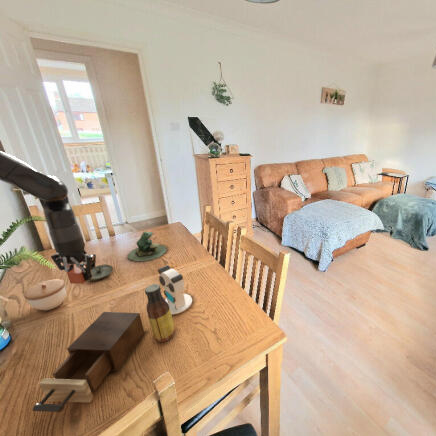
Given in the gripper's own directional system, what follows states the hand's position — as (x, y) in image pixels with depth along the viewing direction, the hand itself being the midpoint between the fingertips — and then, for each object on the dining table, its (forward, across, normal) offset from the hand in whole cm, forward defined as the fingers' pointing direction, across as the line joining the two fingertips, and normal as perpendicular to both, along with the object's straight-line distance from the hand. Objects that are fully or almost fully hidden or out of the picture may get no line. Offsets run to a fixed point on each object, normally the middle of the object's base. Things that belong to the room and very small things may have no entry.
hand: (81, 279), depth 86 cm
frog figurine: (+12, +1, -40) cm, 42 cm away
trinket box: (+13, +15, 0) cm, 20 cm away
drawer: (+12, -21, +29) cm, 38 cm away
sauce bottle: (+13, -34, +12) cm, 38 cm away
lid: (+13, +11, -19) cm, 26 cm away
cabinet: (+13, -21, +18) cm, 30 cm away
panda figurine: (+13, -31, -4) cm, 34 cm away
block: (0, 0, 0) cm, 0 cm away
